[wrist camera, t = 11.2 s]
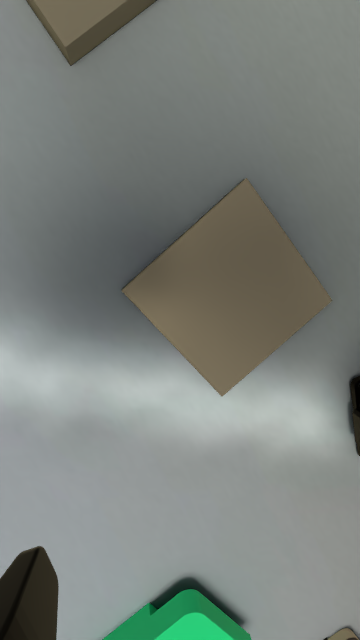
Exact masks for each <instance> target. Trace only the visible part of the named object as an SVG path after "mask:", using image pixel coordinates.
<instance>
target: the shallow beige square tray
mask: <svg viewBox="0 0 360 640" xmlns="http://www.w3.org/2000/svg"><path fill="white" fill-rule="evenodd" d="M26 1H27V2H28V4H29V5H30V7H31V8H32V10H33V11H34V13H35V14H36V15H37V17H38V18H39V20H40V21H41V23H42V24H43V26H44V27H45V29H46V30H47V32H48V33H49V35H50V36H51V37H52V39H53V40H54V42H55V43H56V45H57V46H58V48H59V49H60V51H61V52H62V54H63V55H64V57H65V58H66V59H67V61H68V62H69V64H70V65H72V64H74V63H75V62H76V61H78V60H79V59H80V58H82V57H83V56H84V55H86V54H87V53H88V52H90V51H91V50H92V49H93V48H95V47H96V46H97V45H99V44H100V43H101V42H103V41H104V40H105V39H107V38H108V37H109V36H111V35H112V34H113V33H114V32H116V31H117V30H118V29H120V28H121V27H122V26H124V25H125V24H126V23H128V22H129V21H130V20H132V19H133V18H134V17H135V16H137V15H138V14H139V13H141V12H142V11H143V10H145V9H146V8H147V7H149V6H150V5H151V4H153V3H154V2H155V1H157V0H26Z"/></svg>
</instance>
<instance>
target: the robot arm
mask: <svg viewBox="0 0 360 640" xmlns="http://www.w3.org/2000/svg"><path fill="white" fill-rule="evenodd" d="M359 384H360V376H358V377H356V378H354V379H353V380H352V382H351V395H352V404H353V413H352V414H353V423H354V433H355V441H356V443H357V450H358V455H359V456H360V386H358V385H359ZM57 610H58V578H57V575H56V572H55V570H54V568H53V566H52V564H51V561H50V559H49V557H48V555H47V553H46V551H45V549H44V548H43V547H41V546H37V547H34V548H32V549H29V550H26V551H23V552H21V553H20V554H19V555H18V556H17V557H16V558H15V560H14V561H13V562H12V564H11V565H10V566H9V568H8V569H7V570H6V572H5V573H4V574H3V576H2V577H1V578H0V640H56V633H57Z"/></svg>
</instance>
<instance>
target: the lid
mask: <svg viewBox="0 0 360 640" xmlns="http://www.w3.org/2000/svg"><path fill="white" fill-rule="evenodd" d="M122 292H123V293H124V294H125V295H126V296H127V297H128V298H129V299H130V300H131V301H132V302H133V303H134V304H135V305H136V306H137V307H138V309H139V310H140V311H141V312H142V313H143V314H144V315H145V316H146V317H147V318H148V319H149V320H150V321H151V322H152V323H153V324H154V325H155V326H156V328H157V329H158V330H159V331H160V332H161V333H162V334H163V335H164V336H165V337H166V338H167V339H168V340H169V341H170V342H171V343H172V344H173V345H174V347H175V348H176V349H177V350H178V351H179V352H180V353H181V354H182V355H183V356H184V357H185V358H186V359H187V360H188V361H189V362H190V363H191V364H192V366H193V367H194V368H195V369H196V370H197V371H198V372H199V373H200V374H201V375H202V376H203V377H204V378H205V379H206V380H207V381H208V382H209V383H210V385H211V386H212V387H213V388H214V389H215V390H216V391H217V392H218V393H219V394H220V395H221V396H223V395H224V394H226V393H227V392H228V391H229V390H230V389H231V388H232V387H234V386H235V385H236V384H237V383H238V382H239V381H240V380H242V379H243V378H244V377H245V376H246V375H247V374H249V373H250V372H251V371H252V370H253V369H254V368H255V367H257V366H258V365H259V364H260V363H261V362H262V361H263V360H265V359H266V358H267V357H268V356H269V355H270V354H271V353H273V352H274V351H275V350H276V349H277V348H278V347H280V346H281V345H282V344H283V343H284V342H285V341H286V340H288V339H289V338H290V337H291V336H292V335H293V334H294V333H296V332H297V331H298V330H299V329H300V328H301V327H302V326H304V325H305V324H306V323H307V322H308V321H309V320H310V319H312V318H313V317H314V316H315V315H316V314H317V313H319V312H320V311H321V310H322V309H323V308H324V307H325V306H327V305H328V304H329V303H330V302H331V301H332V299H331V298H330V296H329V295H328V293H327V292H326V291H325V289H324V288H323V286H322V285H321V283H320V282H319V281H318V279H317V278H316V276H315V275H314V273H313V272H312V271H311V269H310V268H309V266H308V265H307V263H306V262H305V261H304V259H303V258H302V256H301V255H300V253H299V252H298V251H297V249H296V248H295V246H294V245H293V243H292V242H291V241H290V239H289V238H288V236H287V235H286V233H285V232H284V231H283V229H282V228H281V226H280V225H279V223H278V222H277V221H276V219H275V218H274V216H273V215H272V213H271V212H270V211H269V209H268V208H267V206H266V205H265V203H264V202H263V201H262V199H261V198H260V196H259V195H258V194H257V192H256V191H255V189H254V188H253V186H252V185H251V184H250V182H249V181H248V179H247V178H246V179H244V180H243V181H241V182H240V183H239V184H238V185H237V186H236V187H235V188H234V189H233V190H231V191H230V192H229V193H228V194H227V195H226V196H225V197H224V198H223V199H221V200H220V201H219V202H218V203H217V204H216V205H215V206H214V207H213V208H211V209H210V210H209V211H208V212H207V213H206V214H205V215H204V216H203V217H201V218H200V219H199V220H198V221H197V222H196V223H195V224H194V225H193V226H192V227H190V228H189V229H188V230H187V231H186V232H185V233H184V234H183V235H182V236H180V237H179V238H178V239H177V240H176V241H175V242H174V243H173V244H172V245H170V246H169V247H168V248H167V249H166V250H165V251H164V252H163V253H162V254H160V255H159V256H158V257H157V258H156V259H155V260H154V261H153V262H152V263H150V264H149V265H148V266H147V267H146V268H145V269H144V270H143V271H142V272H140V273H139V274H138V275H137V276H136V277H135V278H134V279H133V280H132V281H131V282H129V283H128V284H127V285H126V286H125V287H124V288H123V289H122Z"/></svg>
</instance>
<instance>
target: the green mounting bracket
mask: <svg viewBox="0 0 360 640" xmlns="http://www.w3.org/2000/svg"><path fill="white" fill-rule="evenodd" d="M103 640H251V637H250V634H248V633H247V632H246V631H245V630H244V629H242V628H241V627H240V626H239V625H238V624H237V623H235V622H234V621H233V620H232V619H231V618H229V617H228V616H227V615H226V614H225V613H224V612H222V611H221V610H220V609H219V608H218V607H216V606H215V605H214V604H213V603H212V602H211V601H209V600H208V599H207V598H206V597H205V596H203V595H202V594H201V593H200V592H199V591H197V590H194V589H188V590H184V591H182V592H180V593H178V594H177V595H176V596H175V597H173V598H172V599H171V600H170V601H168V602H167V603H166V604H165V605H163V606H162V607H161V608H160V609H156V608H155V607H154V606H153V605H151V604H150V603H148V604H147V605H145V606H144V607H143V608H142V609H140V610H139V611H138V612H137V613H135V614H134V615H133V616H132V617H130V618H129V619H128V620H127V621H125V622H124V623H123V624H122V625H120V626H119V627H118V628H117V629H115V630H114V631H113V632H111V633H110V634H109V635H108V636H106V637H105V638H104V639H103Z"/></svg>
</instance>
